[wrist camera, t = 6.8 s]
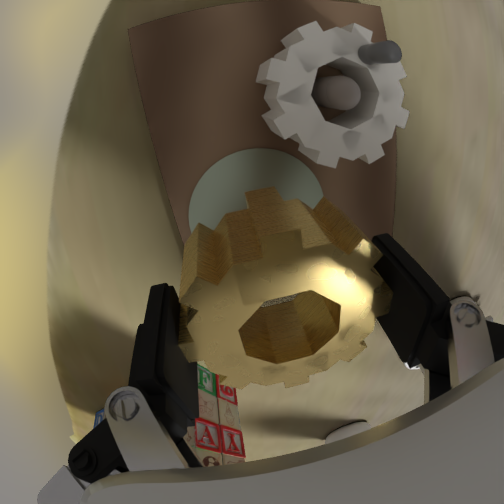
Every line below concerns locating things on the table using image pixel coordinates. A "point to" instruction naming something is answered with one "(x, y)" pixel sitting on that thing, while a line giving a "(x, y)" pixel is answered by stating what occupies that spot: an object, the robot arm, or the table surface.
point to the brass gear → (278, 291)
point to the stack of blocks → (212, 423)
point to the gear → (351, 65)
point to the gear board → (250, 113)
